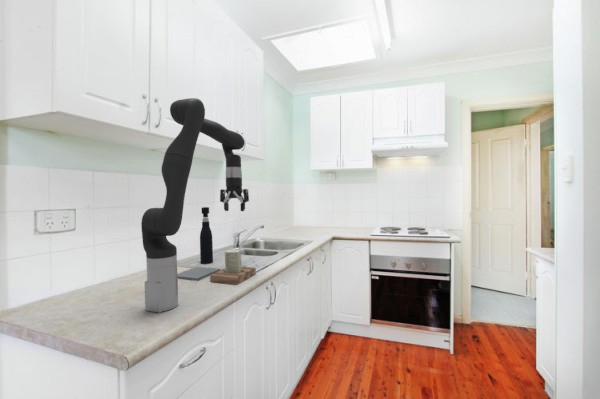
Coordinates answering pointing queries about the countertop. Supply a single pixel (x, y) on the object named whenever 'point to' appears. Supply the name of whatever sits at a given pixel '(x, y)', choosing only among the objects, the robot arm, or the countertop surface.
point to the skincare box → (233, 261)
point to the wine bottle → (206, 239)
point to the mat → (197, 273)
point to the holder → (232, 276)
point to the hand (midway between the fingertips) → (234, 211)
